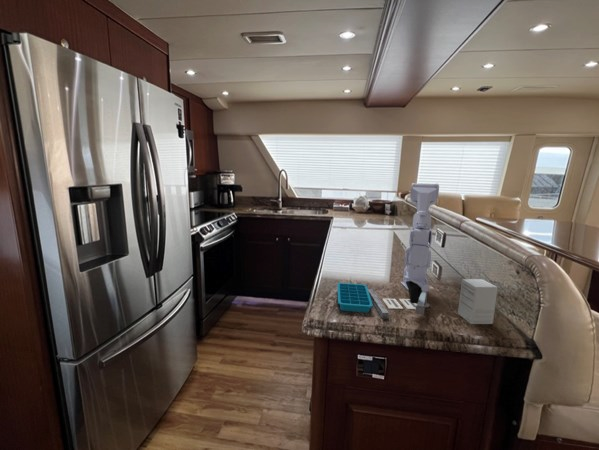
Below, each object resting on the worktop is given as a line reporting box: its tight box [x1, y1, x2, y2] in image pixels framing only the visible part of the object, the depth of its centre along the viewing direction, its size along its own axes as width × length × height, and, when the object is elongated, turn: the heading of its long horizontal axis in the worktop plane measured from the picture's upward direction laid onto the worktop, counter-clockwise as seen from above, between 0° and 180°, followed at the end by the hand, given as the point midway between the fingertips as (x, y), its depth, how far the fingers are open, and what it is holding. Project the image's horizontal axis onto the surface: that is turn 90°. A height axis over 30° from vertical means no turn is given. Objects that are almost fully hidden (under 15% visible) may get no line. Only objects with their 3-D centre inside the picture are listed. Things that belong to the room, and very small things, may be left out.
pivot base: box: [416, 302, 430, 309], centre depth 102 cm, size 5×5×1 cm
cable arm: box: [414, 291, 428, 316], centre depth 96 cm, size 16×3×5 cm, turn 153°
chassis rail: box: [368, 288, 390, 319], centre depth 101 cm, size 20×2×2 cm, turn 1°
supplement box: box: [457, 278, 499, 325], centre depth 91 cm, size 7×7×13 cm
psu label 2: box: [398, 298, 417, 310], centre depth 102 cm, size 8×5×1 cm, turn 1°
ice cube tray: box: [336, 282, 374, 313], centre depth 104 cm, size 12×20×3 cm, turn 173°
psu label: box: [381, 298, 404, 310], centre depth 102 cm, size 8×5×1 cm, turn 1°
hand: (413, 302), depth 95 cm, fingers closed, pressing on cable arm
